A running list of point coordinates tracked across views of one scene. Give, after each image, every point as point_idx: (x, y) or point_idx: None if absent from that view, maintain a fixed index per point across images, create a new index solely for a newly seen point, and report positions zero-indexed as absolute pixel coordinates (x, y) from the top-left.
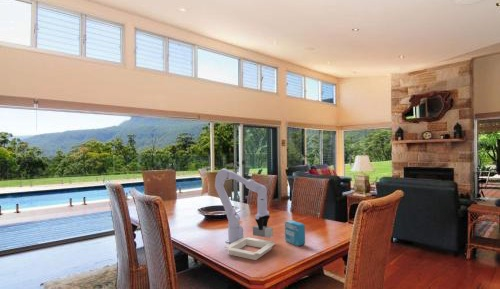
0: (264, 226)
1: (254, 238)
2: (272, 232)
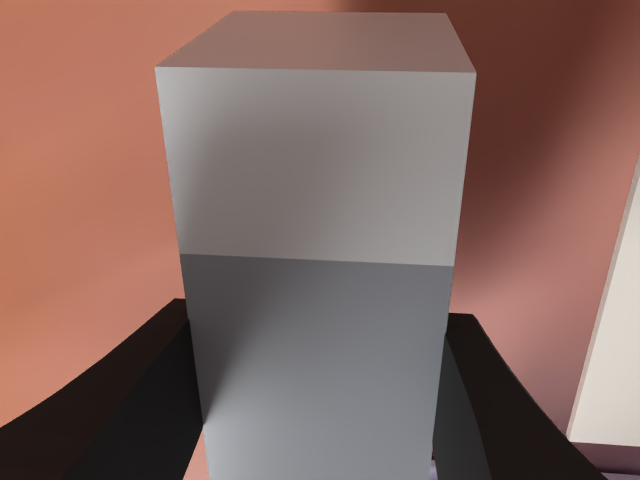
0: (228, 360)
1: (612, 315)
2: (229, 29)
